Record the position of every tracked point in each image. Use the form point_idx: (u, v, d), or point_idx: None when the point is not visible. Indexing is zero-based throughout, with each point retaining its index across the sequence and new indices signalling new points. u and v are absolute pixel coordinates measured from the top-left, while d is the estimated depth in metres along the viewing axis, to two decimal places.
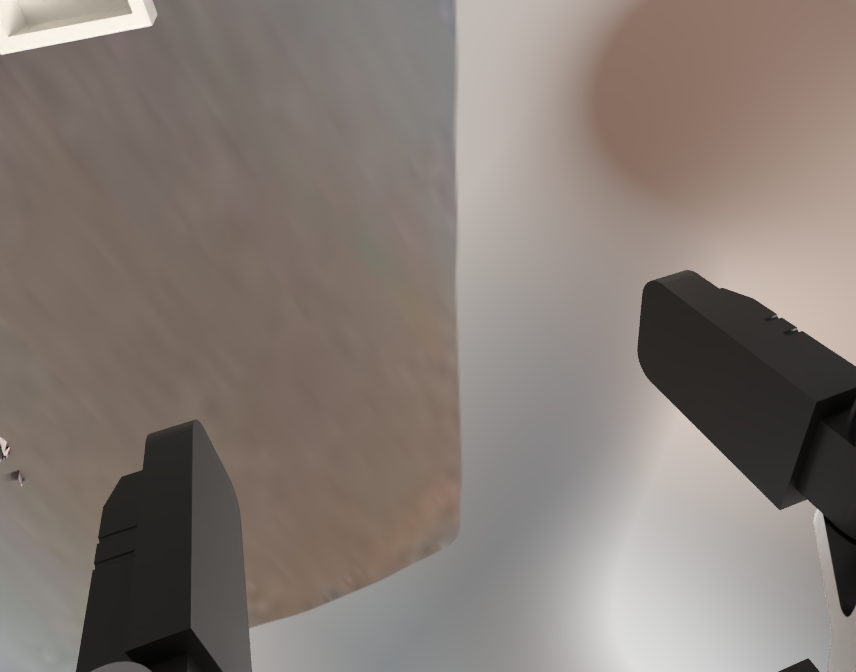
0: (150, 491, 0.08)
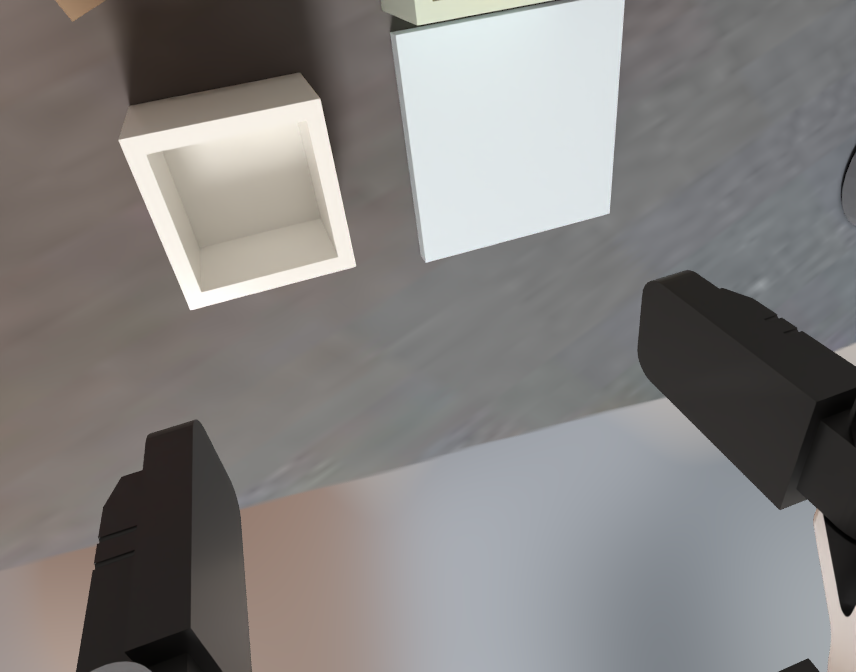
0: (150, 491, 0.08)
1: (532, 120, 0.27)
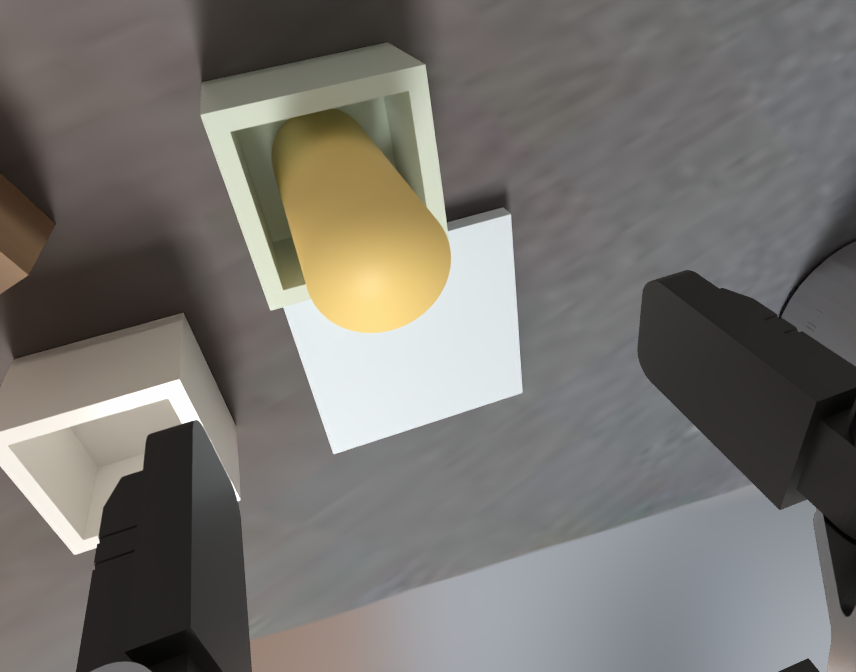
0: (150, 491, 0.08)
1: (428, 328, 0.27)
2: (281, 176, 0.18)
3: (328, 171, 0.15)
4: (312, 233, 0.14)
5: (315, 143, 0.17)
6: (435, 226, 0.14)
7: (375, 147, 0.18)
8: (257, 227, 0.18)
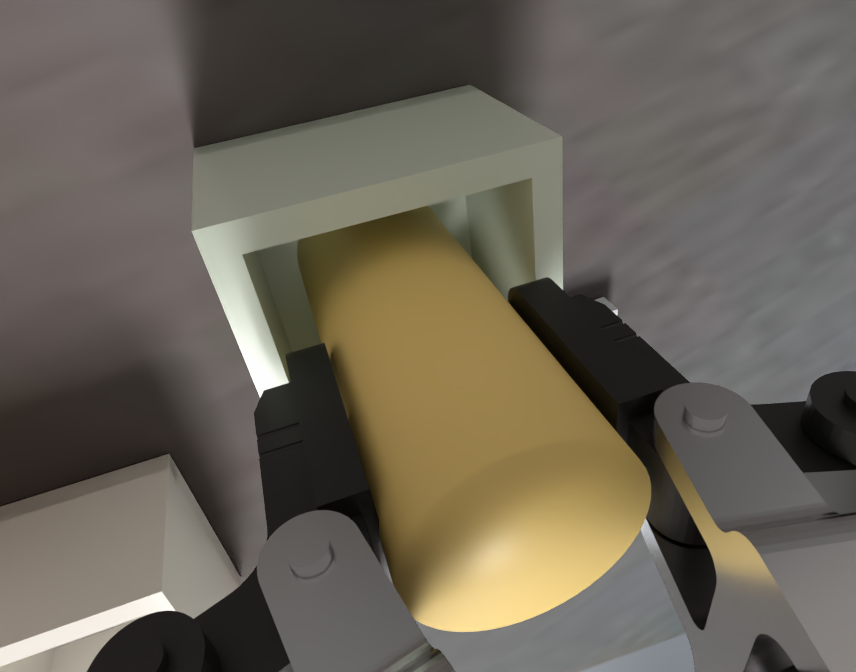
0: (302, 394, 0.09)
1: None
2: (320, 305, 0.12)
3: (420, 342, 0.09)
4: (411, 501, 0.07)
5: (378, 262, 0.11)
6: (635, 471, 0.08)
7: (471, 263, 0.11)
8: None
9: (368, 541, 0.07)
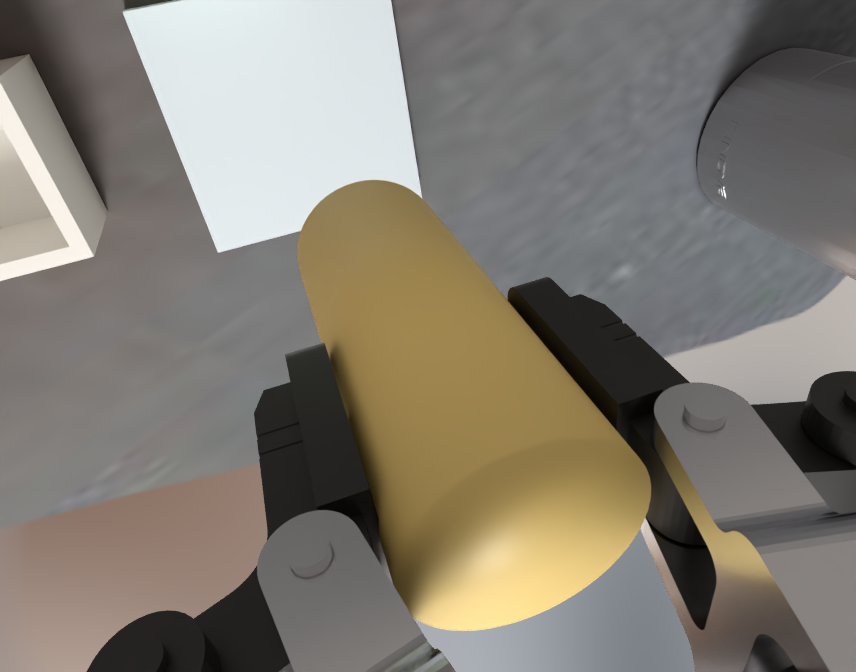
0: (303, 394, 0.09)
1: (307, 100, 0.25)
2: (320, 304, 0.12)
3: (420, 340, 0.09)
4: (411, 499, 0.07)
5: (378, 261, 0.11)
6: (635, 469, 0.08)
7: (471, 262, 0.11)
8: None
9: (369, 540, 0.07)
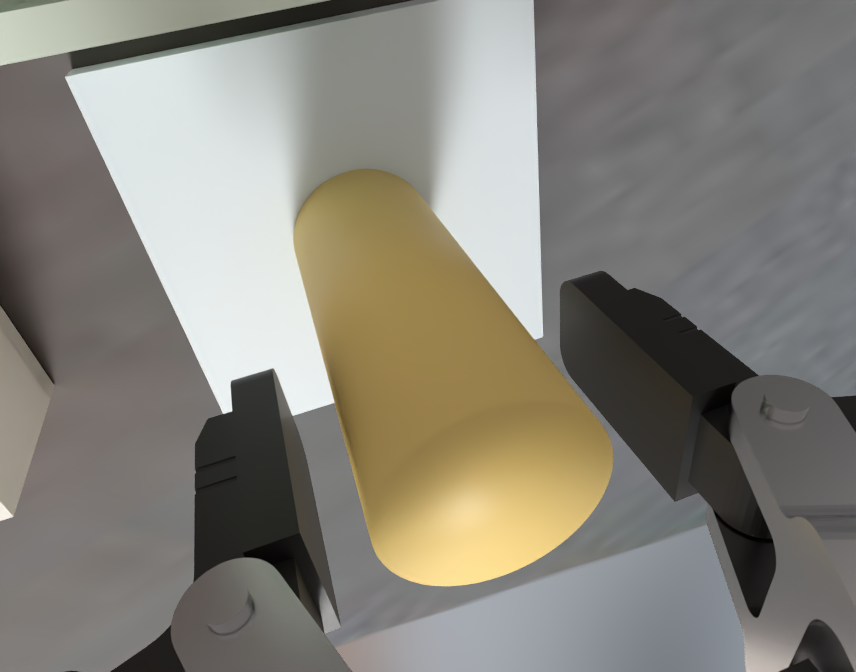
0: (242, 426, 0.09)
1: None
2: (312, 286, 0.12)
3: (400, 315, 0.09)
4: (385, 457, 0.08)
5: (367, 243, 0.11)
6: (596, 433, 0.08)
7: (456, 246, 0.12)
8: None
9: (297, 588, 0.07)
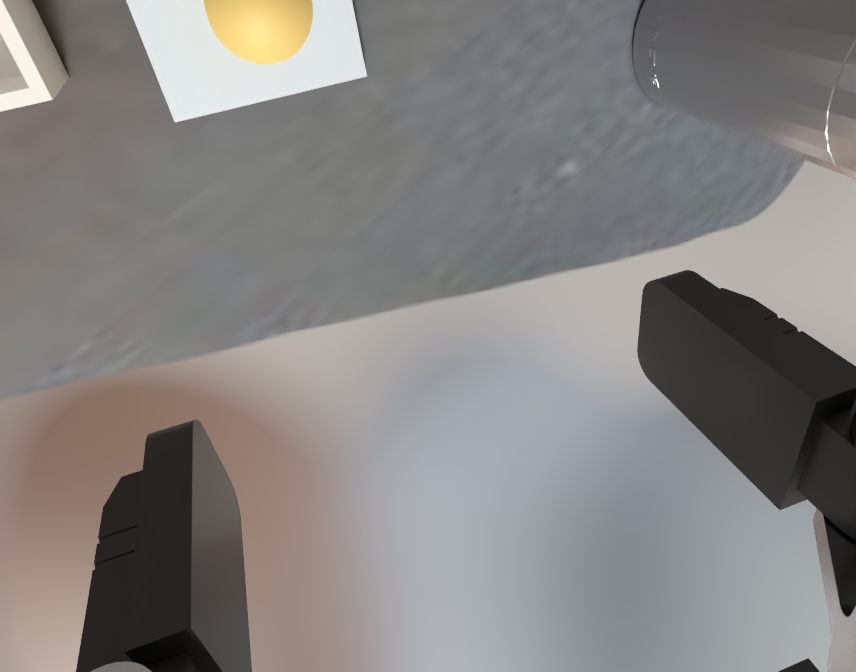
0: (150, 491, 0.08)
1: None
2: None
3: None
4: None
5: None
6: None
7: None
8: None
9: None
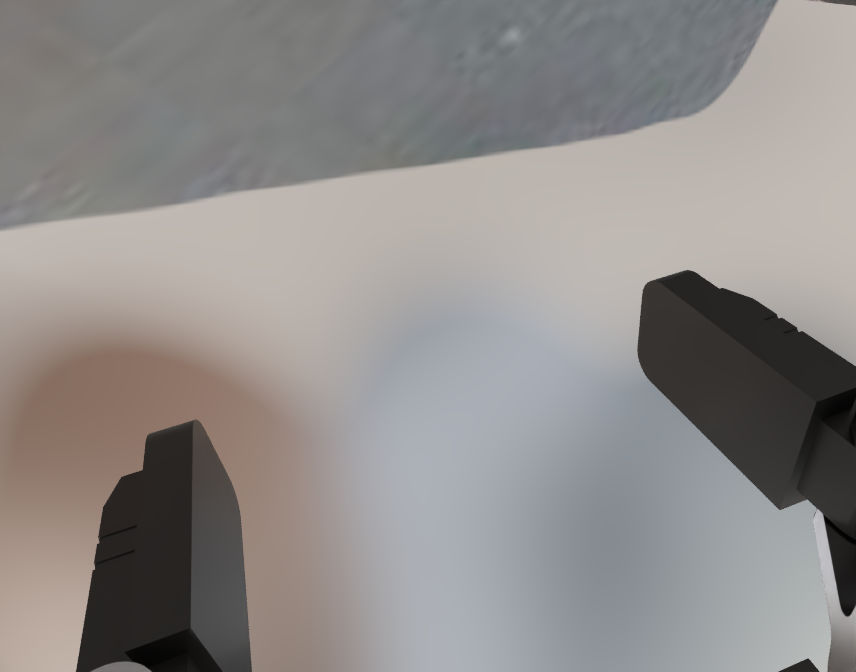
0: (150, 491, 0.08)
1: None
2: None
3: None
4: None
5: None
6: None
7: None
8: None
9: None
